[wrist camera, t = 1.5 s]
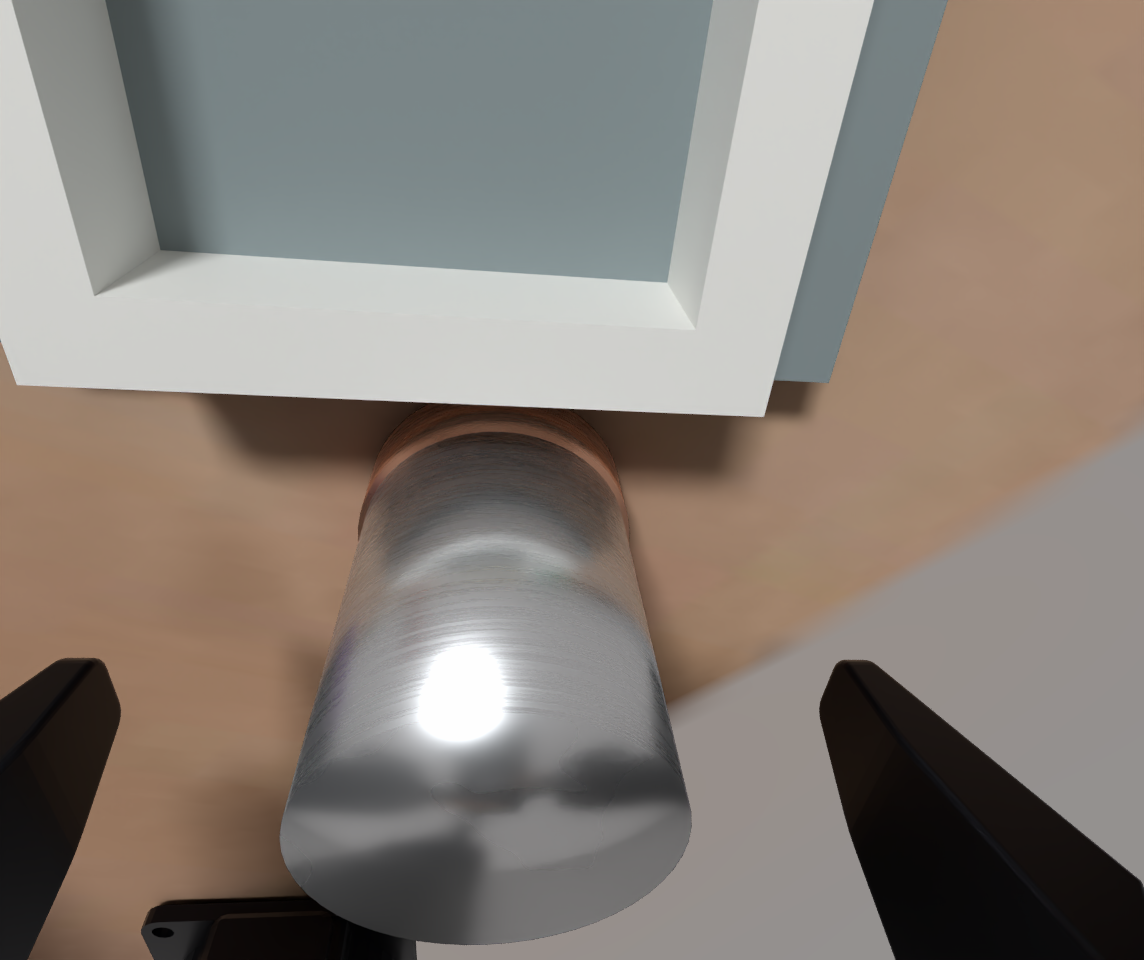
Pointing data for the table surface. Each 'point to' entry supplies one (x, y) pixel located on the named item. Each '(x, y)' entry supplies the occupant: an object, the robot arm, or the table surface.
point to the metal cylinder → (488, 694)
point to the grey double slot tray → (447, 194)
